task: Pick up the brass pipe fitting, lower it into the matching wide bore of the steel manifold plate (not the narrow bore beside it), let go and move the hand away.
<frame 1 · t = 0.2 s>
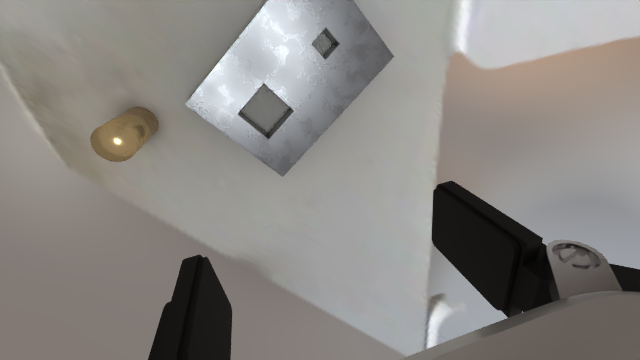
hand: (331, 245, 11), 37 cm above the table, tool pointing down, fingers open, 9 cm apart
manifold plate: (291, 77, 43), on the table
brass fitting: (141, 122, 40), on the table
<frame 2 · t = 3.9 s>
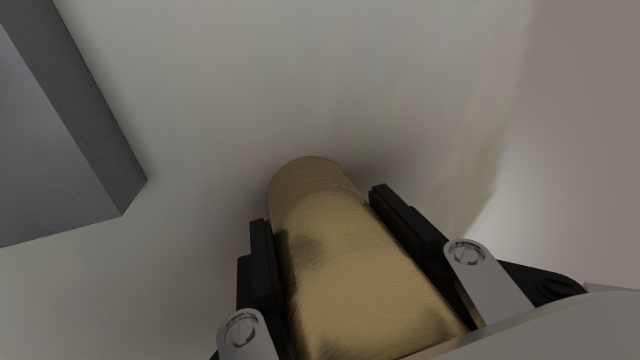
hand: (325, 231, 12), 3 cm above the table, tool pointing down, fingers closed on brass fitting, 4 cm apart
brass fitting: (308, 194, 15), on the table, touching gripper
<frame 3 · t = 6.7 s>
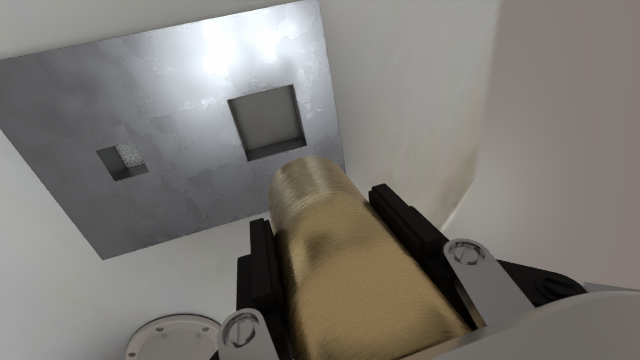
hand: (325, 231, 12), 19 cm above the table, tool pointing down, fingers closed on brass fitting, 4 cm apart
manifold plate: (203, 133, 27), on the table
brass fitting: (309, 193, 15), point 16 cm above the table, touching gripper
when the fingers open (4 cm above the table, at t = 9.4 s): brass fitting stays where it is, resting in manifold plate.
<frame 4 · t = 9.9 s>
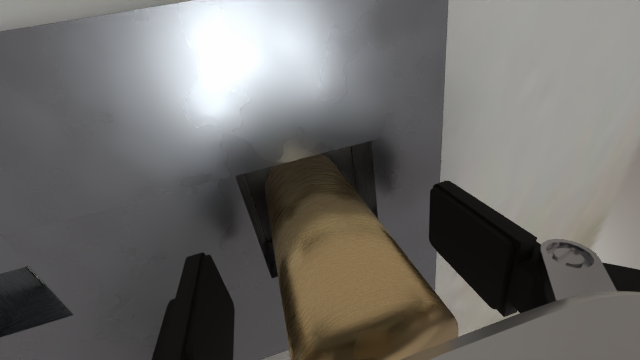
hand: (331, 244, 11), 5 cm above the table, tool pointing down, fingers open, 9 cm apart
manifold plate: (188, 218, 15), on the table
brass fitting: (304, 187, 16), resting in manifold plate
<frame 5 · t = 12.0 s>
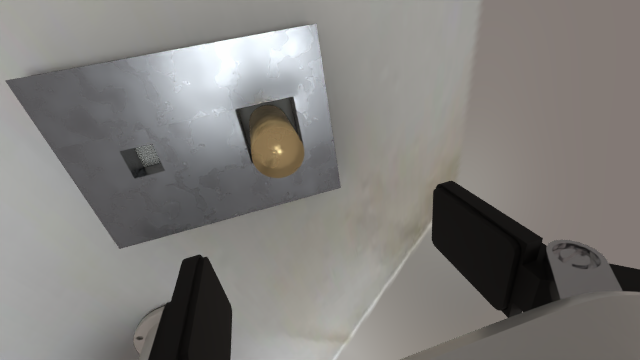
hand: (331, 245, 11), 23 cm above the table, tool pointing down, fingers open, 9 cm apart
manifold plate: (212, 137, 31), on the table
brass fitting: (268, 124, 32), resting in manifold plate
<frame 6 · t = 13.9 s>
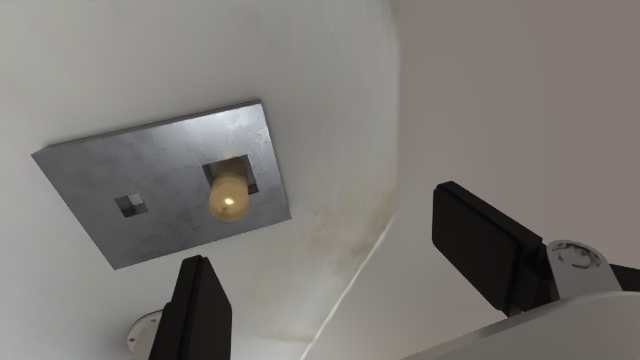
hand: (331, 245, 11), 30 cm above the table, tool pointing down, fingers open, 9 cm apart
manifold plate: (186, 182, 39), on the table
brass fitting: (231, 171, 40), resting in manifold plate
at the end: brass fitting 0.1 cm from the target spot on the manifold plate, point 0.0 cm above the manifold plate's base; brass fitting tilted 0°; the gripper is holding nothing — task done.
